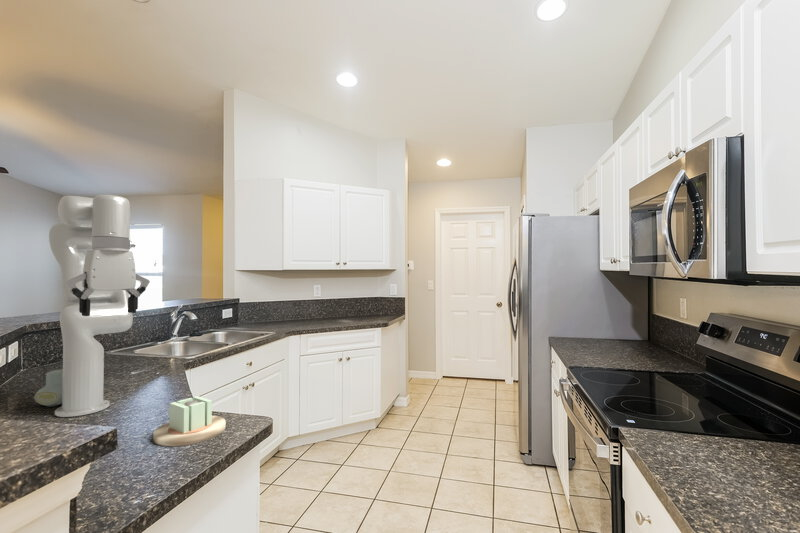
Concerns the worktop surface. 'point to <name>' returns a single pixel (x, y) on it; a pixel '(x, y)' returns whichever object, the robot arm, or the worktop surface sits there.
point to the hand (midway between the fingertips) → (109, 314)
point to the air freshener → (51, 389)
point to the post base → (176, 438)
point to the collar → (190, 414)
